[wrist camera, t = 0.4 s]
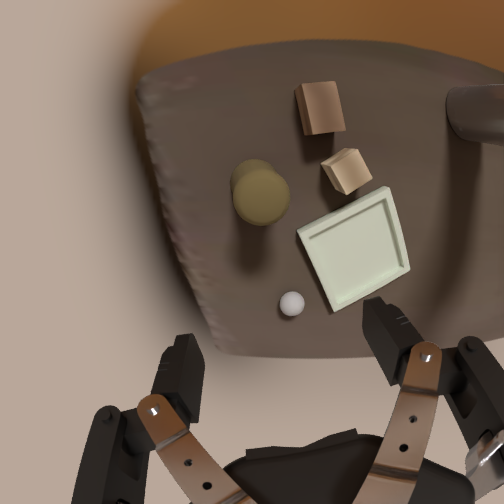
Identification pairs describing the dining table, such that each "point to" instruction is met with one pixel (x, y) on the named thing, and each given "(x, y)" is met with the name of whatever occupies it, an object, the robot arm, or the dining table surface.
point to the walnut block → (319, 108)
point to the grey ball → (292, 303)
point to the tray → (357, 248)
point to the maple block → (346, 170)
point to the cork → (259, 192)
